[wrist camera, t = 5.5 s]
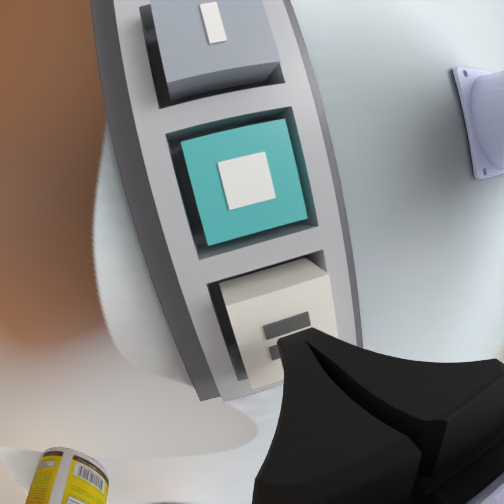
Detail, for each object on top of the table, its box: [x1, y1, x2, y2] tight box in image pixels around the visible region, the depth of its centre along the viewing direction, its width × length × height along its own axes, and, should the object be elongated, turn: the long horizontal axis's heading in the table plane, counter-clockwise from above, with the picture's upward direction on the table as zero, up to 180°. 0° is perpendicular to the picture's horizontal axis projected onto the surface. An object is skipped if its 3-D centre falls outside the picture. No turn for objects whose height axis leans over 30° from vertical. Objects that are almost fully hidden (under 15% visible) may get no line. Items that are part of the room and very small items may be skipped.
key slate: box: [150, 0, 281, 101], centre depth 10 cm, size 4×4×3 cm
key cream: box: [219, 258, 338, 389], centre depth 13 cm, size 4×4×3 cm
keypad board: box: [91, 0, 363, 402], centre depth 13 cm, size 10×28×3 cm, turn 14°
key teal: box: [181, 119, 308, 246], centre depth 13 cm, size 4×4×3 cm
